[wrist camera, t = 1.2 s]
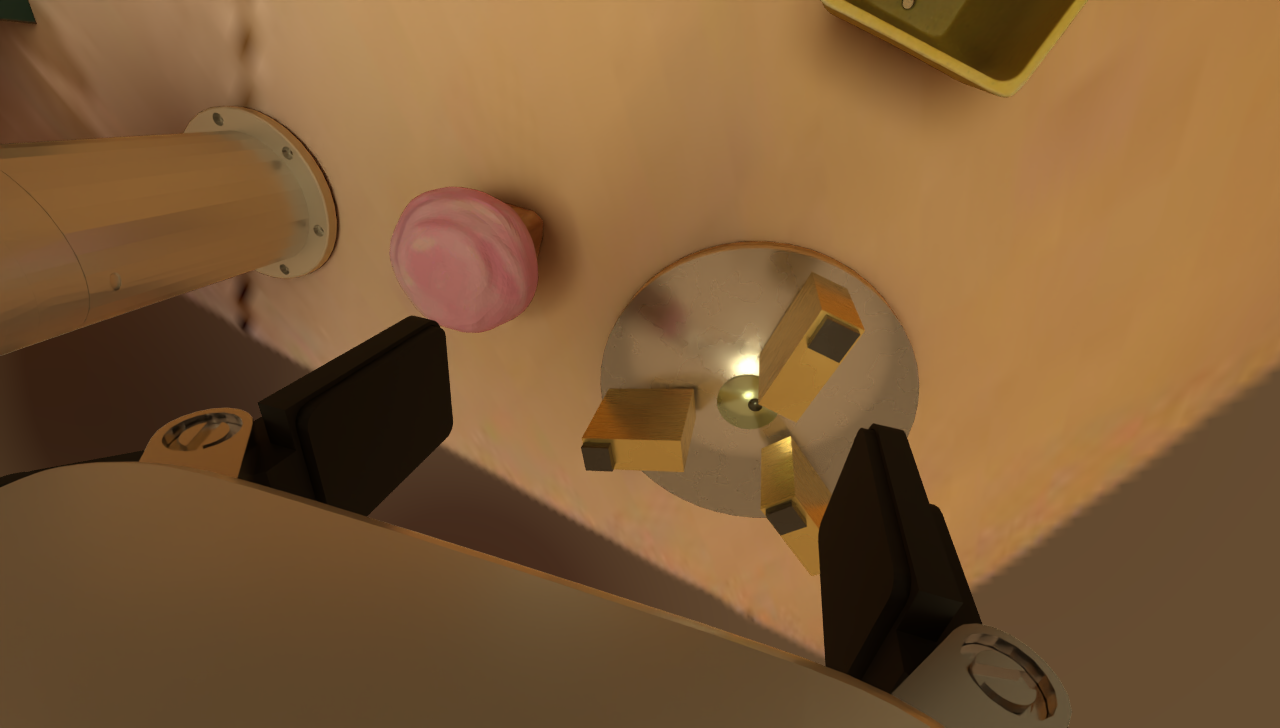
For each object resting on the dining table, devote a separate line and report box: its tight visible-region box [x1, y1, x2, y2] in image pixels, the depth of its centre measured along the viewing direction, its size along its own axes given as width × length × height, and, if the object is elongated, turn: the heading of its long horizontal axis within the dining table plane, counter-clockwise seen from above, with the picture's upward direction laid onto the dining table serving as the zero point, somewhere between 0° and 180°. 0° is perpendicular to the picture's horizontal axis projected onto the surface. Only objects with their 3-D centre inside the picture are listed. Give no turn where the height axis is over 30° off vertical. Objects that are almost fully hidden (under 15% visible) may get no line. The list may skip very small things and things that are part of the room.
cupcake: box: [389, 187, 543, 333], centre depth 32 cm, size 9×9×10 cm
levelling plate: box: [601, 241, 919, 518], centre depth 37 cm, size 22×22×2 cm
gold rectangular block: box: [758, 272, 865, 423], centre depth 29 cm, size 6×2×7 cm, turn 157°
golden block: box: [581, 388, 696, 472], centre depth 35 cm, size 6×2×7 cm, turn 97°
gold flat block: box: [760, 436, 832, 576], centre depth 35 cm, size 6×2×7 cm, turn 37°
